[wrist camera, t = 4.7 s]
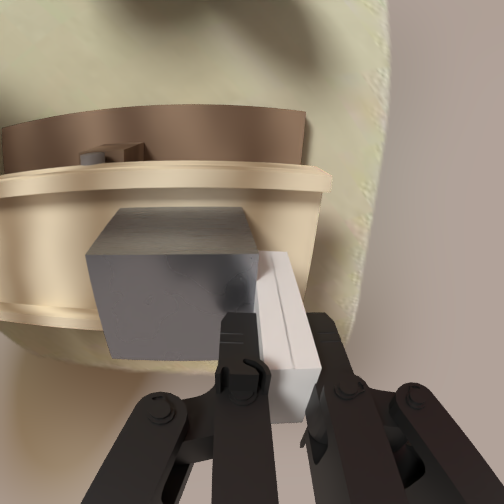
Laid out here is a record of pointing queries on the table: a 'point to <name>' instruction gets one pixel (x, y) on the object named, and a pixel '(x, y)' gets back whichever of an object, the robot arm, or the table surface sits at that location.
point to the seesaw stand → (157, 136)
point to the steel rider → (171, 279)
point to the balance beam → (130, 196)
